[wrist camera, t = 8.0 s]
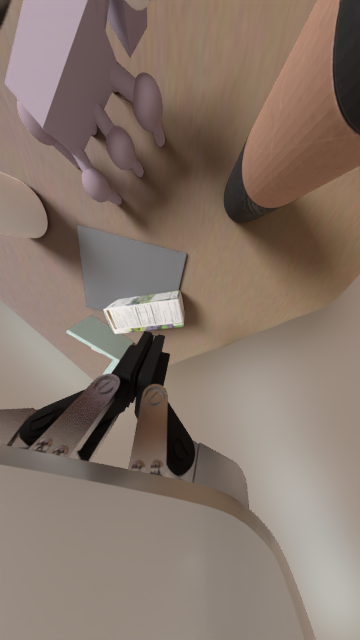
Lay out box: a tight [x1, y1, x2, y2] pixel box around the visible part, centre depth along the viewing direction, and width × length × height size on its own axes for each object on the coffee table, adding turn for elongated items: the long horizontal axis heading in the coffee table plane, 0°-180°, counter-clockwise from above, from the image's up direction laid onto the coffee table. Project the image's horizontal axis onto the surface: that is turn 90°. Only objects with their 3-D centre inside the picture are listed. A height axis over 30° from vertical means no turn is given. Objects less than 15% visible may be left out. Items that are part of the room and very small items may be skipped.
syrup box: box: [103, 290, 185, 334], centre depth 26 cm, size 6×6×14 cm
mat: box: [77, 225, 187, 311], centre depth 27 cm, size 16×20×1 cm
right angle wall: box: [66, 315, 133, 375], centre depth 32 cm, size 12×12×8 cm
